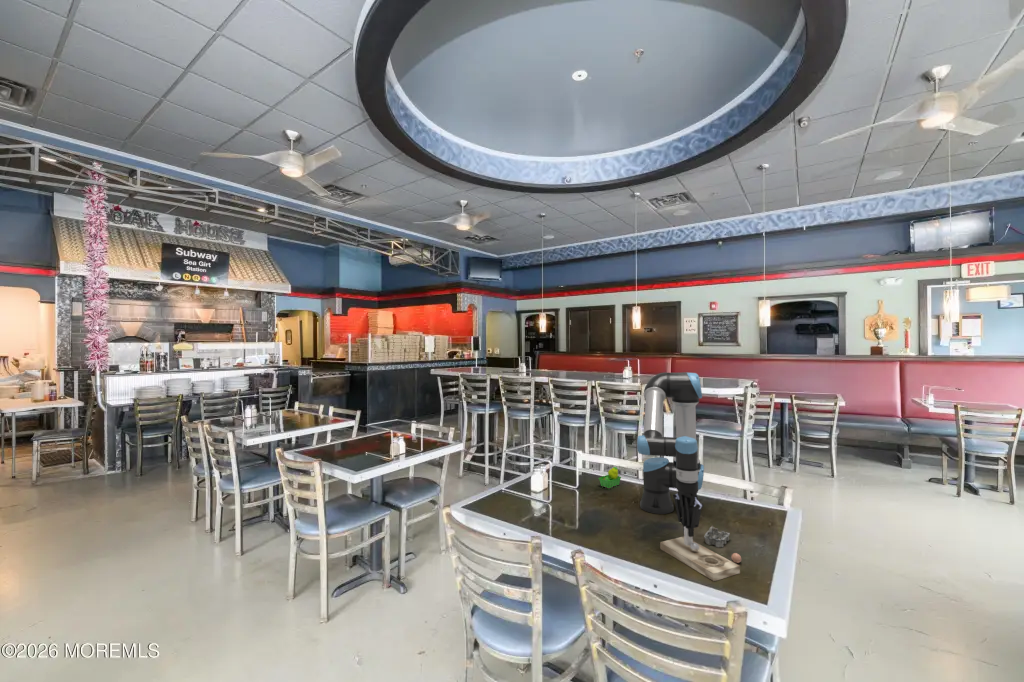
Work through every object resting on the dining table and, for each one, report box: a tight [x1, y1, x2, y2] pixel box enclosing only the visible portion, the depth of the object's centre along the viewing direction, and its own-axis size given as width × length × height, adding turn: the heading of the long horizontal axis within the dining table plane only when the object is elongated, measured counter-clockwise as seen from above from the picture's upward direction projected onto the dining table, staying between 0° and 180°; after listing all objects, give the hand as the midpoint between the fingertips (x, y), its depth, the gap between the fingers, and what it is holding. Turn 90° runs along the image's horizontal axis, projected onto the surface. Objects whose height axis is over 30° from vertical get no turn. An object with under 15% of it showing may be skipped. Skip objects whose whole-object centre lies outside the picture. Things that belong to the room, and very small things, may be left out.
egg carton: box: [703, 525, 730, 548], centre depth 170 cm, size 11×8×4 cm
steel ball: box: [690, 541, 699, 552], centre depth 156 cm, size 3×3×3 cm
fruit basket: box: [598, 466, 622, 489], centre depth 237 cm, size 11×9×11 cm
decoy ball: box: [730, 552, 742, 564], centre depth 153 cm, size 3×3×3 cm
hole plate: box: [659, 535, 741, 582], centre depth 155 cm, size 12×25×2 cm, turn 23°
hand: (688, 544), depth 159 cm, fingers closed
